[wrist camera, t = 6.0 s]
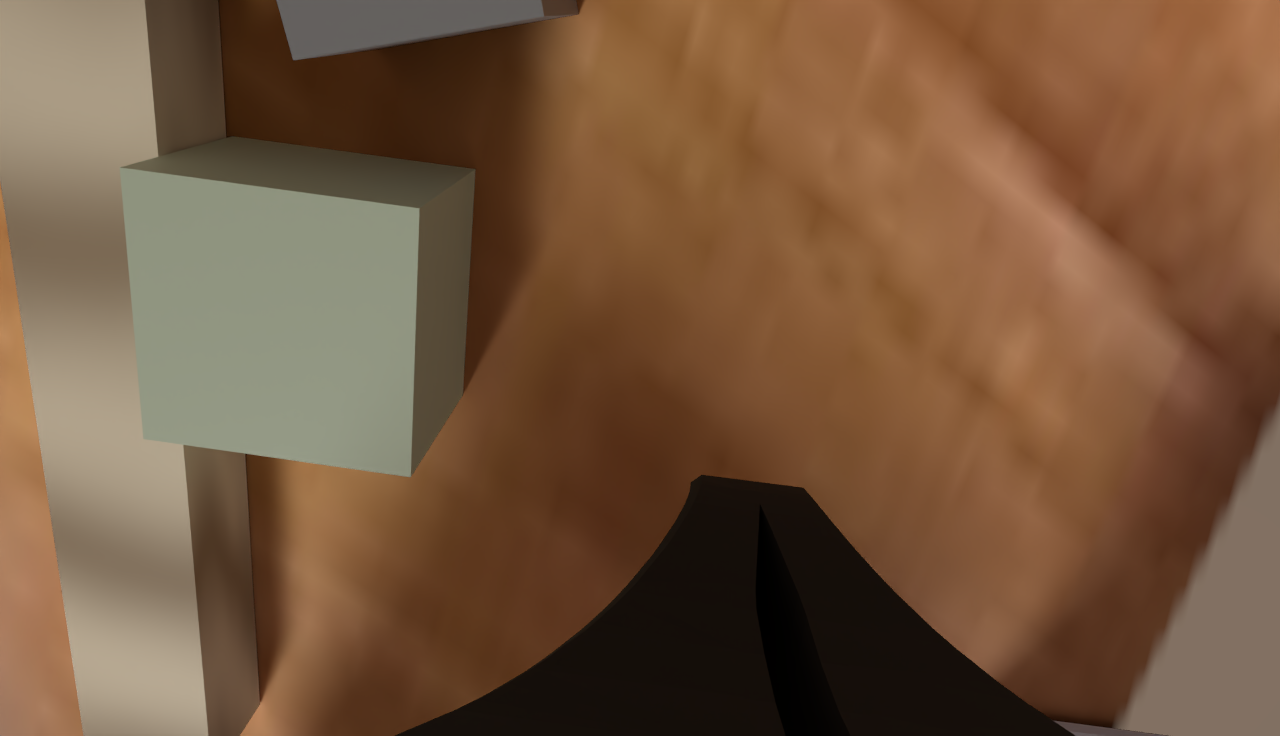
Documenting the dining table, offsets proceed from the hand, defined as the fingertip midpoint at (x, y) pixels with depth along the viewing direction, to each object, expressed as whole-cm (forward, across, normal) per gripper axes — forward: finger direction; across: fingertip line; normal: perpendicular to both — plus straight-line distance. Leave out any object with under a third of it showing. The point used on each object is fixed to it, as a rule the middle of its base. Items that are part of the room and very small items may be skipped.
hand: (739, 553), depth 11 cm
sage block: (+9, +8, 0) cm, 12 cm away
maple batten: (+9, +12, 0) cm, 15 cm away
